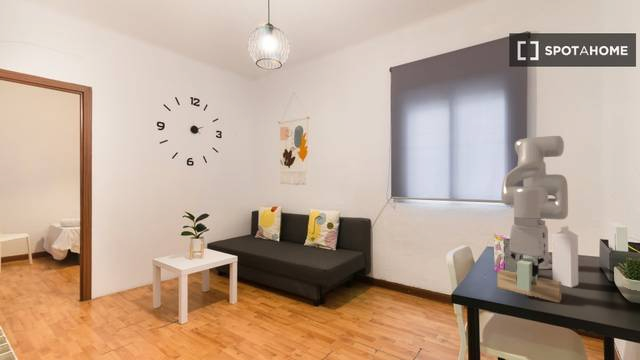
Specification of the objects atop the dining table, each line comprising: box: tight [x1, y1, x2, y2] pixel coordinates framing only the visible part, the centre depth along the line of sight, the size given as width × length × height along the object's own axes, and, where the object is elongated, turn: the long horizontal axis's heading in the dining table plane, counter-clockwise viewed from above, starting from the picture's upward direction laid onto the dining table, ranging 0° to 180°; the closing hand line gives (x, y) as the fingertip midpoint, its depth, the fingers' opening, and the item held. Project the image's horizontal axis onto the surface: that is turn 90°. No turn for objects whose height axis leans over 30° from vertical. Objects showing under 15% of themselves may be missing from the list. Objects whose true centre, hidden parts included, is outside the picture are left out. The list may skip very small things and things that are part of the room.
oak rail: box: [496, 270, 562, 303], centre depth 103 cm, size 4×18×6 cm, turn 41°
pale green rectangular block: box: [517, 257, 539, 291], centre depth 103 cm, size 11×4×9 cm, turn 131°
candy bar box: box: [493, 233, 517, 273], centre depth 123 cm, size 11×5×16 cm, turn 168°
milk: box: [551, 225, 579, 288], centre depth 112 cm, size 6×6×22 cm
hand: (527, 273), depth 103 cm, fingers closed on pale green rectangular block, 3 cm apart
